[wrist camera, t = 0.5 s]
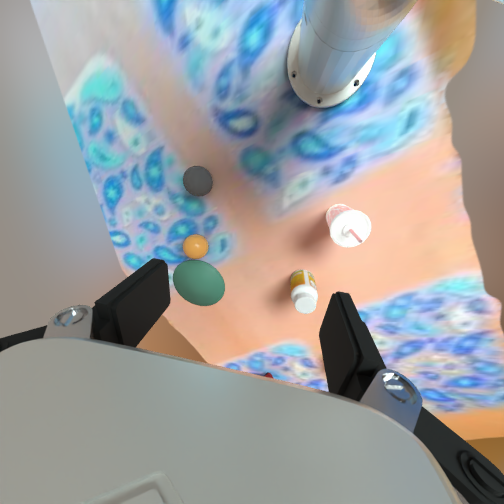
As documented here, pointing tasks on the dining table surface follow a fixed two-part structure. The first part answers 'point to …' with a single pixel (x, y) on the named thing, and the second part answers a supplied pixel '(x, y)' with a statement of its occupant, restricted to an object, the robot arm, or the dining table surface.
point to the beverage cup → (347, 225)
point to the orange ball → (195, 246)
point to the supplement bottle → (303, 291)
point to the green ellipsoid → (198, 282)
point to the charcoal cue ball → (197, 181)
